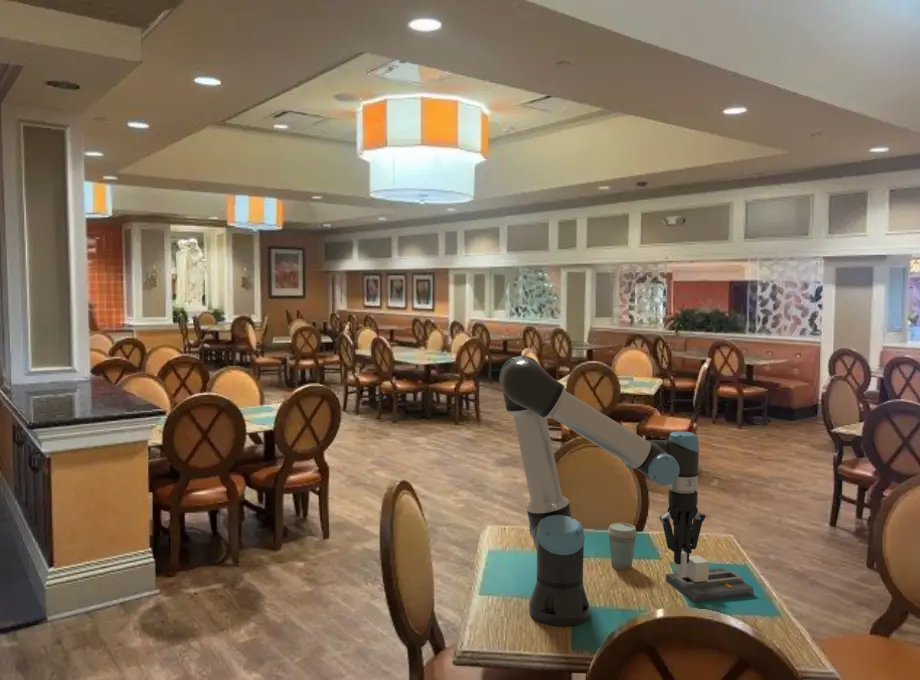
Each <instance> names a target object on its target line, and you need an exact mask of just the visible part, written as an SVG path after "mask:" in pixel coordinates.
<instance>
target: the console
mask: <svg viewBox="0 0 920 680" xmlns="http://www.w3.org/2000/svg"><path fill="white" fill-rule="evenodd" d="M665 578H666V579H665V580H666V581H665V582H666V583H668V584H669V585H670V586H672V587H673V588H675V589H676V590H678V592H680V593H681V594H683V595H684V596H685V597H687V598H688V599H689V600H691V601H692V602H694V603H699V602H707V601H714V600H716V601H717V600H722V599H730V598H731V599H732V598H740V597H741V598H742V597H747V596H748V595H749V596H754V594H755V592H754V591H755V588H754V587H753V586H752V585H750V584H748V583H747V582H745V581H744V580H745V578H744V577H743V576H741V575H740V574H737V572H735V571H733V570H725V569H724V568H723V567H721V568H712V569H708V581H700V582H691V581H690V578H688V577H687V576H686V577H681V576H679V575H678V574H676V572H675V573H674V572H673V573H668V574H667V573H666V574H665ZM746 595H747V596H746Z"/></svg>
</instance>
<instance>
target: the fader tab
mask: <svg viewBox="0 0 920 680" xmlns="http://www.w3.org/2000/svg"><path fill="white" fill-rule="evenodd" d="M709 566H710V565H709V561H708V560H706V559H705V558H703V557H702V556H700V555H698V554H696V555H689V563H687V574H686V576H687V577H688V578H690V581H691V582H700V581H708V570H710V569H709V568H710V567H709Z"/></svg>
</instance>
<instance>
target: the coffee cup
mask: <svg viewBox="0 0 920 680" xmlns="http://www.w3.org/2000/svg"><path fill="white" fill-rule="evenodd" d="M607 534H608V540H609V541H608V543H609V551H610V560H611V561H610V562H611V568H613V569H615V570H618V571H619V570H620V571H627V570H628V571H629V570H631V569H632V567H633V562H634V561H633V560H634V554H635V545H636V539H637V536H638V532H637V527H636V526H635V525H633V524H630V523H625V522H615V523H611V524H610V525H609V527H608V529H607Z"/></svg>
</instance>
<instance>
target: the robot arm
mask: <svg viewBox="0 0 920 680" xmlns="http://www.w3.org/2000/svg"><path fill="white" fill-rule="evenodd" d="M498 381H499V385H500V387H501V389H502V393H503V399H504V404H505V410H506V412H507V413H509V414H510V415H512V417H513V420H514V425H515V426H514V427H515V429H516V434H517V439H518V444H519V445H518V446H519V450H520V454H521V460H522V464H523V465H522V466H523V469H524V474H525V475H524V476H525V480H526V483H527V488H528V493H529V499H530V501H529V503H528V505H526V512H527V516H528V517H527V518H528V521H529V533H530V535H531V538H532V540H533V544H534V547H535V550H536V581H535V582H536V583H535V586H534V588H533V591H532V594H531V597H530V599H529V609H528V611H529V614H530V616H531V617H532V618H533V619H535V620H536V621H538V622H541V623H543V624H547V625H550V626H557V627H559V626H560V627H569V626H576V625H581V624H583V623H585V622H586V621H587V620H589V618H590V604H589V600H588V597H587V593H586V589H585V586H584V553H585V551H584V550H585V549H584V546H585V545H584V544H585V540H586V539H585V533H584V527H583V525H582V523H581V522H580V521H579V520H577V519H575V518H573V515H572V514H573V513H572V509H571V504H570V500H569V499H568V498H567V497H566V496H564V495H563V493H562V488H561V483H560V479H559V478H560V477H559V475H558V474H559V473H558V469H557V463H556V458H555V453H554V449H553V444H552V443H553V442H552V438H551V434H550V433H551V432H550V429H549V428H550V427H549V424H548V418H551V419H553V420H554V421H556V422H558V424H559V423H560V424H561V425H562V426H564V427H566V428H568V429H569V430H571V431H573V432H574V433H576V434H577V435H579V436H581V437H582V438H584V439H586V440H588V441H589V442H591V443H592V444H594V445H596V446H598V447H600V448H601V449H603V450H604V451H606V452H608V453H610V454H611V455H613V456H614V457H616V458H618V459H619V460H621V461H622V462H624V463H625V466H626V467H627V469H632V470H633V469H635V470H637V471H638V472H640V473H642V474H644V475H645V476H647V477H648V478H650V480H651V481H653V482H655V483H656V484H658V485H661V486H668V488H669V489H668V496H667V497H668V498H667V499H668V500H667V501H668V509H667V511H666V513H665V514H664V515H662V514H661V515H659V520H660V522H661V523H662V528H663V532H664V536H665V537H664V538H665V541H666V542H665V543H666V546H667V549H668V550H670V551H672V552H673V562H674V564H675V565H676V567H675V568H676V569H675V571H676V572H675V573H676V574H678V575H679V576H681V577H686V574H687V563H689V556H690V554H692V553H693V551H692V550H696V549H697V547H698V546H697V545H698V542H699V538H700V534H701V529H702V525H703V523H704V520H705V519H706V518H707V517H706V515H705V514H704V513H702V512H700V511H699V510H698V507H697V505H698V495H699V494H698V491H697V490H698V489H699V487H698V484H699V455H700V454H699V453H700V448H699V447H700V445H699V444H700V443H699V437H698V435H697V434H695V433H693V432H691V431H673V432H670V434H669V437H668V439H665V440H661V439H659V440H658V439H657V440H655V439H654V440H653V439H650V440H649V439H648V440H647V439H645V438H644V437H642V436H640V435H638V434H637V433H635V431H631V430H630V429H629V428H628V427H625V426H623V425H622V424H621V423H619V422H618V421H616V420H614V419H612V418H610V417H609V416H607V415H606V414H604V413H602V412H601V411H599V410H598V409H596V408H594V407H592V406H591V405H589V404H588V403H586V402H584V401H583V400H581V399H580V398H578V397H577V396H574V395H573V394H572V393H570V392H568V391H566V386H565V385H564V384H563V383H561V382H559V381H558V380H557V379H555V378H553V377H552V375H550V374H549V373H548V372H547V371H546V370H545V369H544V368H543V367H542V366H541V365H540V363H539V361H537V360H536V359H534V358H532V357H529V356H527V355H519V356H514V357H511V358H509V359H508V360H507V361H506V362H505V363H504V364H503V365H502V367H501V369H500V371H499V378H498ZM671 522H672V524H671ZM672 526H673V527H672Z"/></svg>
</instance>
